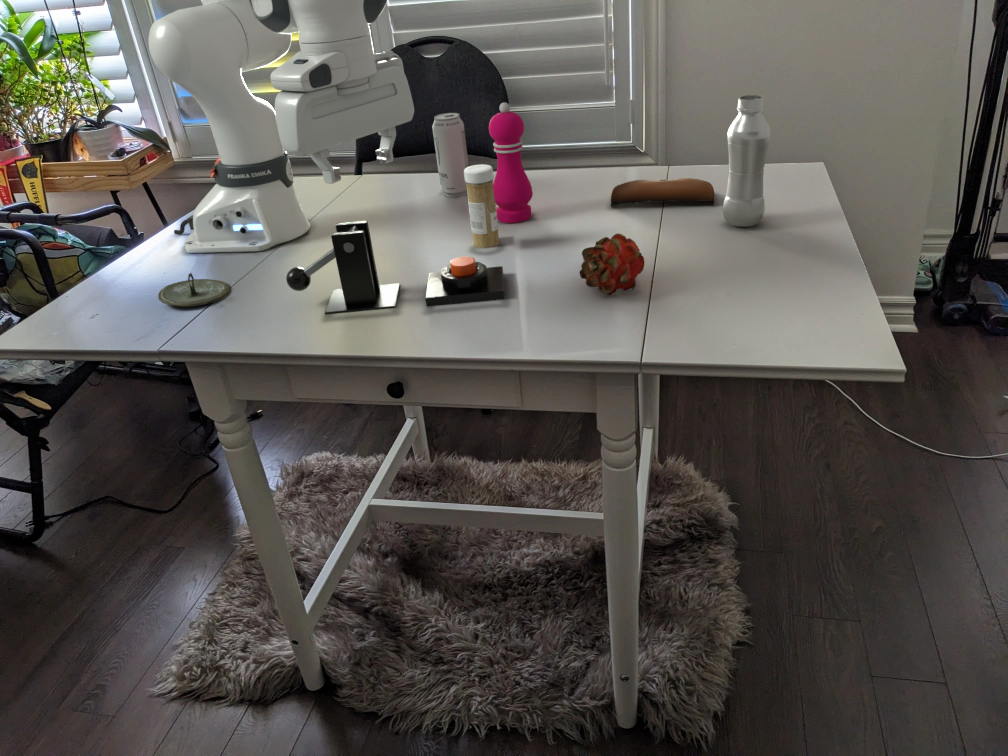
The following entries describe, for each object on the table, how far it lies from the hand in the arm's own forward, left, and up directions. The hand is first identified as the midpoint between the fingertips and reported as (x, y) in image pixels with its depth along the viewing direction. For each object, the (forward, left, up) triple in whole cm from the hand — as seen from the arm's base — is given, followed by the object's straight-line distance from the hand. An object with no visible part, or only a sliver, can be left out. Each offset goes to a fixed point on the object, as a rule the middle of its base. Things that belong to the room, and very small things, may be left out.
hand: (360, 172), depth 107 cm
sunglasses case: (+47, +34, -20) cm, 61 cm away
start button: (+12, 0, -16) cm, 20 cm away
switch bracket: (-3, 0, -19) cm, 20 cm away
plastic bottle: (+57, +18, -20) cm, 63 cm away
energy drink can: (+9, +50, -20) cm, 55 cm away
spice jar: (+15, +18, -20) cm, 31 cm away
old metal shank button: (-30, +7, -20) cm, 36 cm away
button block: (+12, 0, -19) cm, 23 cm away
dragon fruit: (+33, -2, -20) cm, 38 cm away
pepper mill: (+20, +32, -20) cm, 43 cm away
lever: (-7, 0, -13) cm, 15 cm away
